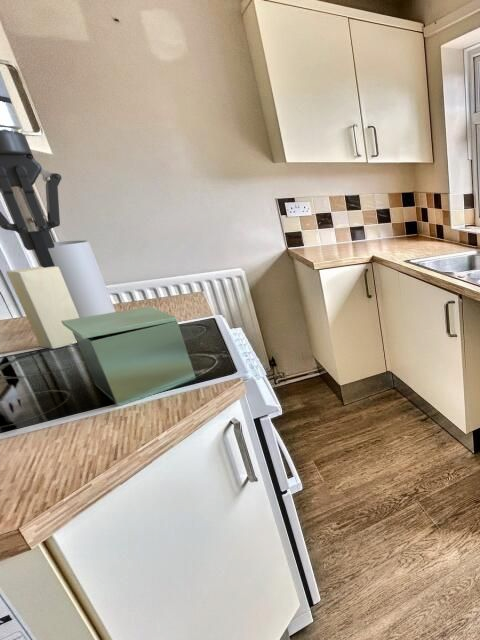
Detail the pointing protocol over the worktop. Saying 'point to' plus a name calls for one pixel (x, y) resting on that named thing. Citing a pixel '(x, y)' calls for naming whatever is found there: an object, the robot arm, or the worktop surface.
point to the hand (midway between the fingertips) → (48, 266)
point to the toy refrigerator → (45, 304)
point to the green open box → (138, 362)
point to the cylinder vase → (81, 277)
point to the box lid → (117, 322)
